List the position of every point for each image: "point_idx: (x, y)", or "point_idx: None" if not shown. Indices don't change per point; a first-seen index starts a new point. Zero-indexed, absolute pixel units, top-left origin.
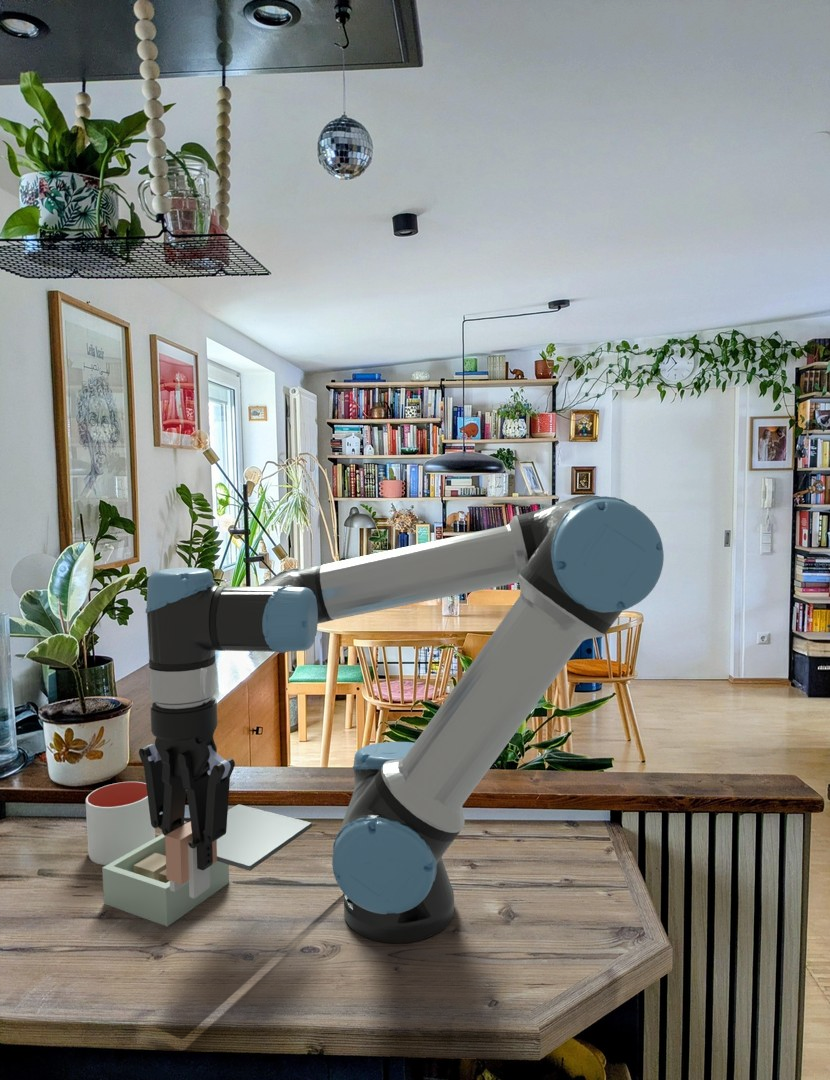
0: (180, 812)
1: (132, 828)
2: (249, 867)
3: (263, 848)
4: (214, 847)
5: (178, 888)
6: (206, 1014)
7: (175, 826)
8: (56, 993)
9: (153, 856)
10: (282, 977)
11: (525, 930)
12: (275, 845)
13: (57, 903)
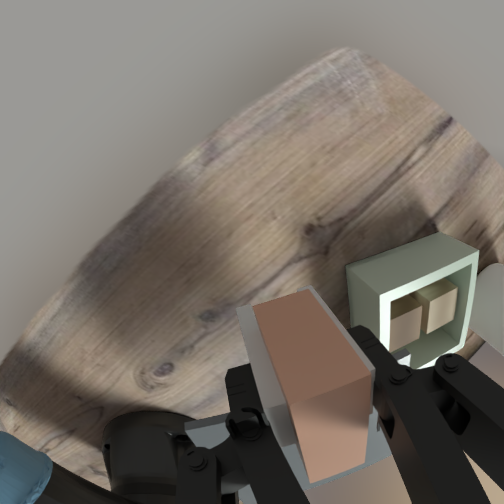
0: (398, 453)
1: (494, 315)
2: (185, 428)
3: None
4: None
5: None
6: (140, 214)
7: (387, 408)
8: (346, 96)
9: (450, 314)
10: (137, 322)
11: (75, 465)
12: None
13: (477, 200)
